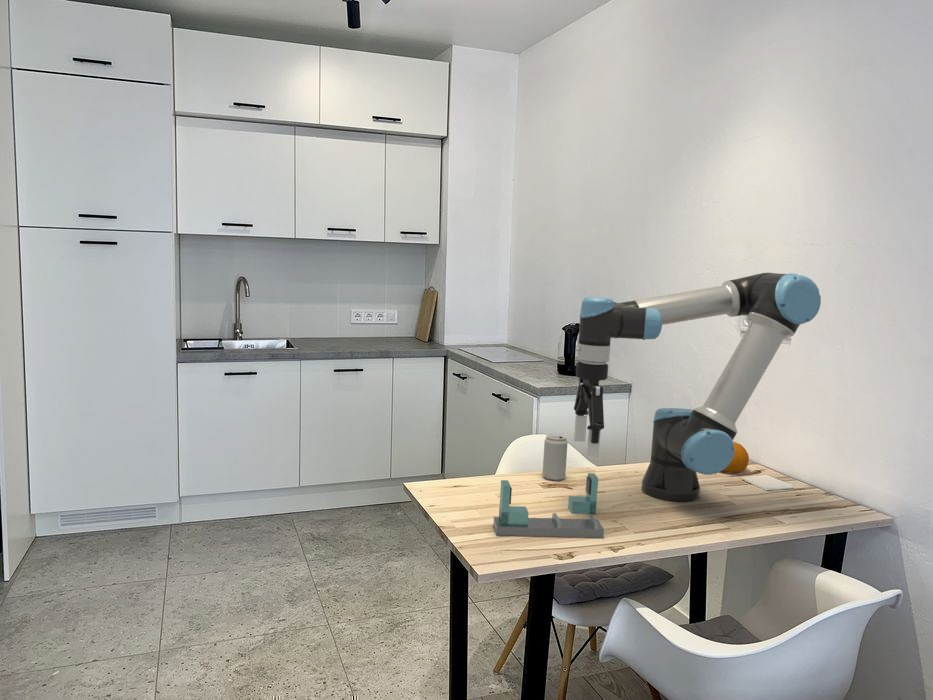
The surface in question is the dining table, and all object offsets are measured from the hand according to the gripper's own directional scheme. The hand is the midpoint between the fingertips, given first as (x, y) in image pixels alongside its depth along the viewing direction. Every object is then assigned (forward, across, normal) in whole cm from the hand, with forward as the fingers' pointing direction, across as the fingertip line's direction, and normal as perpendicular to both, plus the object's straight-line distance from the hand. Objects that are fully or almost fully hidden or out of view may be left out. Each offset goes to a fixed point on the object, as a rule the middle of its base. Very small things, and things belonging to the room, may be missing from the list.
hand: (585, 448), depth 176 cm
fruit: (+16, -39, +54) cm, 69 cm away
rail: (+16, +14, -11) cm, 24 cm away
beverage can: (+16, -26, -2) cm, 31 cm away
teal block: (+16, 0, 0) cm, 16 cm away
